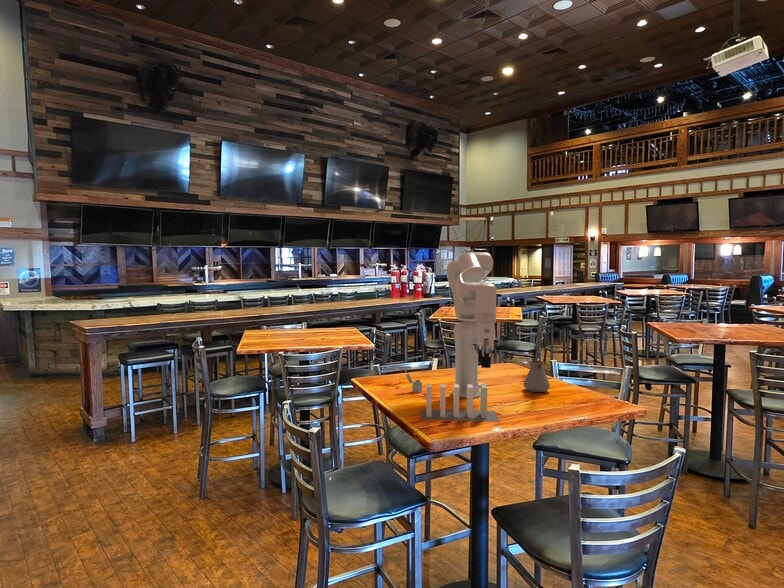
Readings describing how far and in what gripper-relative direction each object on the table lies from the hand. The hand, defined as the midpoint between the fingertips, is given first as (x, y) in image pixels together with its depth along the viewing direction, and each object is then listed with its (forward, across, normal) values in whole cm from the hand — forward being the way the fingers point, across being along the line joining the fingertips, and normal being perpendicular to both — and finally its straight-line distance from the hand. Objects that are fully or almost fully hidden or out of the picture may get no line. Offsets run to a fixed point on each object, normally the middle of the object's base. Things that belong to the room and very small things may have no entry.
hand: (484, 364), depth 174 cm
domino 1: (+19, -1, +20) cm, 28 cm away
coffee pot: (+20, +34, -28) cm, 48 cm away
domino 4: (+19, -1, +5) cm, 20 cm away
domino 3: (+19, -1, +10) cm, 21 cm away
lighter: (+20, +33, +26) cm, 47 cm away
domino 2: (+19, -1, +15) cm, 24 cm away
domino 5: (+19, -1, 0) cm, 19 cm away
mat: (+19, -1, +9) cm, 21 cm away
